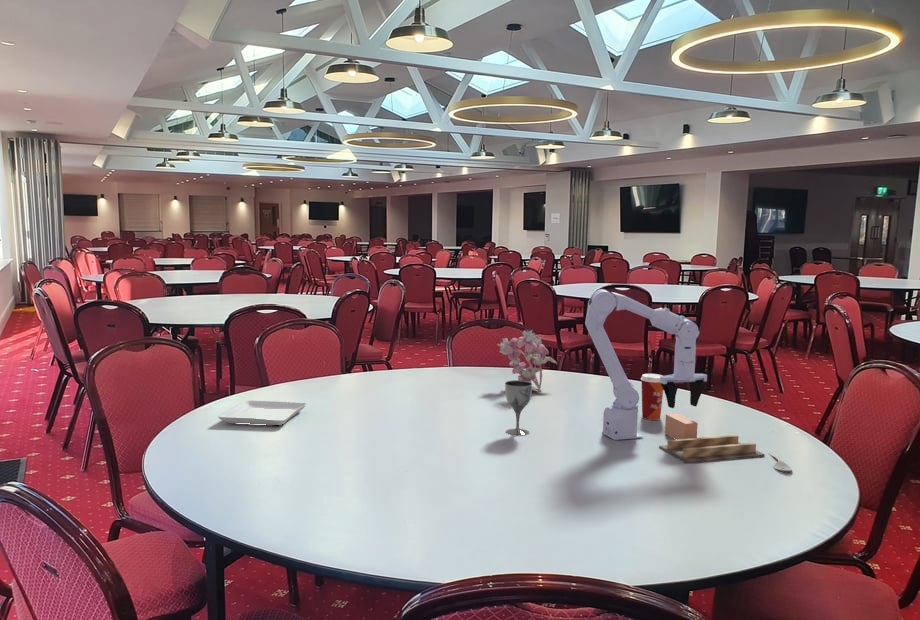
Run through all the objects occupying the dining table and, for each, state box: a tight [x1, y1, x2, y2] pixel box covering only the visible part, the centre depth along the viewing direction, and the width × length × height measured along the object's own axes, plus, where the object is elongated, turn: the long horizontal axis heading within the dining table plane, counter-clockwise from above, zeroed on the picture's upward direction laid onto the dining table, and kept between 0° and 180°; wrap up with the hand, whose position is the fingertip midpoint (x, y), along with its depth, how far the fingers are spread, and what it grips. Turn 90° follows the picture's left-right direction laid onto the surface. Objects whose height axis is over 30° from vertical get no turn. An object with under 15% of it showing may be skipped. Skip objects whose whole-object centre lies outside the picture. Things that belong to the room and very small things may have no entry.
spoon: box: [768, 451, 793, 473], centre depth 172 cm, size 4×21×2 cm, turn 165°
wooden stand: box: [659, 434, 766, 464], centre depth 179 cm, size 24×13×3 cm, turn 105°
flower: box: [497, 329, 558, 394], centre depth 250 cm, size 20×22×25 cm
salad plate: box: [218, 400, 307, 426], centre depth 207 cm, size 21×21×3 cm
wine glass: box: [504, 380, 533, 437], centre depth 194 cm, size 8×8×15 cm
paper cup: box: [640, 373, 664, 421], centre depth 211 cm, size 8×8×14 cm
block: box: [664, 413, 699, 440], centre depth 191 cm, size 10×4×6 cm, turn 15°
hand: (682, 406), depth 190 cm, fingers open, 7 cm apart
